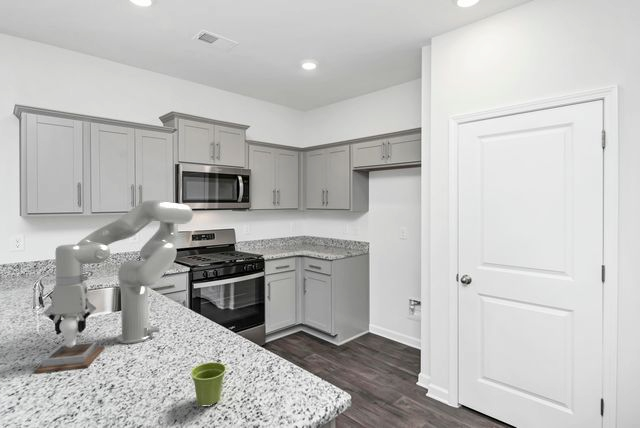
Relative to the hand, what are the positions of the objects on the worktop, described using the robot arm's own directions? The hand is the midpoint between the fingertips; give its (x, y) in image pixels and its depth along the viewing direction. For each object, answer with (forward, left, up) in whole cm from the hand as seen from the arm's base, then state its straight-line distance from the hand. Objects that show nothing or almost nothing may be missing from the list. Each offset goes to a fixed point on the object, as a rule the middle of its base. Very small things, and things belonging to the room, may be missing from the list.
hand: (70, 331), depth 117 cm
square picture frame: (0, 0, -10) cm, 10 cm away
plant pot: (-48, +37, -10) cm, 62 cm away
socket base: (0, 0, -10) cm, 10 cm away
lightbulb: (0, 0, -6) cm, 6 cm away
